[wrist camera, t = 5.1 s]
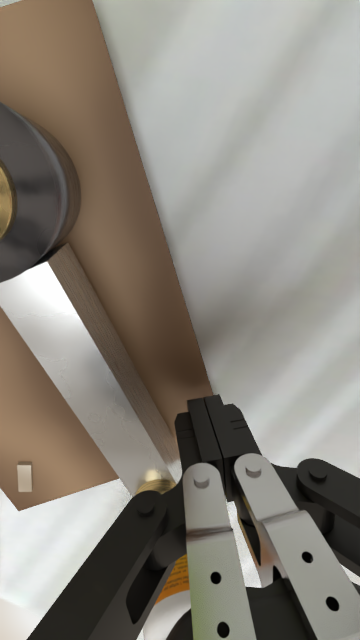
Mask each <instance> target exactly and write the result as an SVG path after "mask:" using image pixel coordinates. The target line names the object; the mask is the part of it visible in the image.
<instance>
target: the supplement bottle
mask: <svg viewBox="0 0 360 640" xmlns="http://www.w3.org/2000/svg"><path fill="white" fill-rule="evenodd" d="M190 608H191V600H190V586H189V573H188V560H187V554H185V555H184V556H182V557H181V558H179V559H178V560H176V563H175V566H174V568H173V570H172V572H171V574H170V576H169V578H168V580H167V582H166V583H165V585H164V587H163V589H162V591H161V593H160V595H159V597H158V599H157V601H156V603H155V605H154V607H153V608H152V610H151V612H150V614H149V616H148V618H147V620H146V622H145V624H144V626H143V633H144V640H166V638H167V636H168V635H169V633H170V631H171V629H172V628H173V626H174V625H175V624H176V622H177V621H178V620H179V619H180V618H181V617H182V615H183V614H184V613H185V612H187V611H188V610H189V609H190Z"/></svg>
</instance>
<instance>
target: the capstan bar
mask: <svg viewBox="0 0 360 640" xmlns="http://www.w3.org/2000/svg"><path fill="white" fill-rule="evenodd" d="M80 206H81V188H80V181H79V178H78V174H77V171H76V169H75V166H74V164H73V162H72V160H71V158H70V156H69V154H68V153H67V152H66V150H65V149H64V147H63V146H62V145H61V144H60V143H59V141H58V140H57V139H56V138H55V137H54V136H53V135H52V134H50V133H49V132H48V131H47V130H46V129H44V128H43V127H41V126H40V125H39V124H37V123H35V122H33V121H32V120H30V119H28V118H27V117H25V116H23V115H22V114H20V113H18V112H17V111H15V110H13V109H12V108H10V107H8V106H7V105H5V104H3V103H2V102H0V306H1V308H2V309H3V311H4V312H5V313H6V315H7V316H8V318H9V319H10V321H11V322H12V324H13V325H14V326H15V328H16V329H17V331H18V332H19V334H20V335H21V337H22V338H23V339H24V341H25V342H26V344H27V345H28V347H29V348H30V350H31V351H32V352H33V354H34V355H35V357H36V358H37V360H38V361H39V362H40V364H41V365H42V367H43V368H44V370H45V371H46V373H47V374H48V375H49V377H50V378H51V380H52V381H53V383H54V384H55V386H56V387H57V388H58V390H59V391H60V393H61V394H62V396H63V397H64V399H65V400H66V401H67V403H68V404H69V406H70V407H71V409H72V410H73V412H74V413H75V414H76V416H77V417H78V419H79V420H80V422H81V423H82V425H83V426H84V427H85V429H86V430H87V432H88V433H89V435H90V436H91V438H92V439H93V440H94V442H95V443H96V445H97V446H98V448H99V449H100V451H101V452H102V453H103V455H104V456H105V458H106V459H107V461H108V462H109V464H110V465H111V466H112V468H113V469H114V471H115V472H116V474H117V475H118V477H119V478H120V479H121V481H122V482H123V484H124V485H125V487H126V488H127V490H128V491H129V492H130V494H131V495H132V497H134V496H135V495H136V494H138V493H140V492H142V491H146V490H154V491H157V492H159V493H161V494H163V493H165V492H167V491H169V490H170V489H172V488H173V487H174V486H176V484H177V483H178V482H179V480H180V478H181V476H182V470H181V464H180V458H179V452H178V445H177V443H176V442H175V440H174V438H173V436H172V434H171V432H170V431H169V429H168V427H167V425H166V423H165V421H164V419H163V418H162V416H161V414H160V412H159V410H158V408H157V406H156V405H155V403H154V401H153V399H152V397H151V395H150V393H149V392H148V390H147V388H146V386H145V384H144V382H143V380H142V379H141V377H140V375H139V373H138V371H137V369H136V368H135V366H134V364H133V362H132V360H131V358H130V356H129V355H128V353H127V351H126V349H125V347H124V345H123V343H122V342H121V340H120V338H119V336H118V334H117V332H116V330H115V329H114V327H113V325H112V323H111V321H110V319H109V317H108V316H107V314H106V312H105V310H104V308H103V306H102V304H101V303H100V301H99V299H98V297H97V295H96V293H95V292H94V290H93V288H92V286H91V284H90V282H89V280H88V279H87V277H86V275H85V273H84V271H83V269H82V267H81V266H80V264H79V262H78V260H77V258H76V256H75V254H74V253H73V251H72V249H71V247H70V245H69V243H68V242H67V243H65V244H63V245H60V246H58V247H56V248H54V247H55V246H57V245H58V244H59V243H60V242H61V241H62V240H63V239H65V238H66V237H67V235H68V234H69V233H70V232H71V230H72V229H73V227H74V225H75V223H76V221H77V218H78V215H79V211H80Z"/></svg>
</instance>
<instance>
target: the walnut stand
mask: <svg viewBox="0 0 360 640" xmlns="http://www.w3.org/2000/svg"><path fill="white" fill-rule="evenodd" d="M0 102H2V103H3V104H5V105H7V106H8V107H10V108H12V109H13V110H15V111H17V112H18V113H20V114H22V115H23V116H25V117H27V118H28V119H30V120H32V121H33V122H35V123H37V124H39V125H40V126H41V127H43V128H44V129H46V130H47V131H48V132H49V133H50V134H52V135H53V136H54V137H55V138H56V139H57V140H58V141H59V143H60V144H61V145H62V146H63V147H64V149H65V150H66V152H67V153H68V154H69V156H70V158H71V160H72V162H73V164H74V166H75V169H76V171H77V174H78V178H79V181H80V188H81V206H80V211H79V215H78V218H77V221H76V223H75V225H74V227H73V229H72V230H71V232H70V233H69V234H68V235H67V237H66V238H65V239H63V240H62V241H61V242H60V243H59V244H58V245H57V246H55V247H54V248H56V247H58V246H60V245H63V244H65V243H67V242H68V243H69V245H70V247H71V249H72V251H73V253H74V254H75V256H76V258H77V260H78V262H79V264H80V266H81V267H82V269H83V271H84V273H85V275H86V277H87V279H88V280H89V282H90V284H91V286H92V288H93V290H94V292H95V293H96V295H97V297H98V299H99V301H100V303H101V304H102V306H103V308H104V310H105V312H106V314H107V316H108V317H109V319H110V321H111V323H112V325H113V327H114V329H115V330H116V332H117V334H118V336H119V338H120V340H121V342H122V343H123V345H124V347H125V349H126V351H127V353H128V355H129V356H130V358H131V360H132V362H133V364H134V366H135V368H136V369H137V371H138V373H139V375H140V377H141V379H142V380H143V382H144V384H145V386H146V388H147V390H148V392H149V393H150V395H151V397H152V399H153V401H154V403H155V405H156V406H157V408H158V410H159V412H160V414H161V416H162V418H163V419H164V421H165V423H166V425H167V427H168V429H169V431H170V432H171V434H172V436H173V438H174V440H175V442H176V443H177V437H176V431H175V424H174V422H175V419H176V416H177V414H179V413H184V412H188V408H187V400H191V399H196V398H203V397H207V396H213V392H212V389H211V386H210V382H209V379H208V376H207V373H206V369H205V366H204V363H203V359H202V356H201V353H200V350H199V346H198V343H197V340H196V337H195V333H194V330H193V327H192V324H191V320H190V317H189V314H188V311H187V307H186V304H185V301H184V298H183V294H182V291H181V288H180V285H179V281H178V278H177V275H176V272H175V268H174V265H173V262H172V258H171V255H170V252H169V249H168V245H167V242H166V239H165V236H164V232H163V229H162V226H161V223H160V219H159V216H158V213H157V210H156V206H155V203H154V200H153V197H152V193H151V190H150V187H149V184H148V180H147V177H146V174H145V171H144V167H143V164H142V161H141V157H140V154H139V151H138V148H137V144H136V141H135V138H134V135H133V131H132V128H131V125H130V122H129V118H128V115H127V112H126V109H125V105H124V102H123V99H122V96H121V92H120V89H119V86H118V83H117V79H116V76H115V73H114V70H113V66H112V63H111V60H110V57H109V53H108V50H107V47H106V43H105V40H104V37H103V34H102V30H101V27H100V24H99V21H98V17H97V14H96V11H95V8H94V4H93V1H92V0H22V1H19V2H16V3H13V4H9V5H6V6H3V7H0ZM177 445H178V444H177ZM178 452H179V450H178ZM179 458H180V456H179ZM116 479H119V477H118V475H117V474H116V472H115V471H114V469H113V468H112V466H111V465H110V464H109V462H108V461H107V459H106V458H105V456H104V455H103V453H102V452H101V451H100V449H99V448H98V446H97V445H96V443H95V442H94V440H93V439H92V438H91V436H90V435H89V433H88V432H87V430H86V429H85V427H84V426H83V425H82V423H81V422H80V420H79V419H78V417H77V416H76V414H75V413H74V412H73V410H72V409H71V407H70V406H69V404H68V403H67V401H66V400H65V399H64V397H63V396H62V394H61V393H60V391H59V390H58V388H57V387H56V386H55V384H54V383H53V381H52V380H51V378H50V377H49V375H48V374H47V373H46V371H45V370H44V368H43V367H42V365H41V364H40V362H39V361H38V360H37V358H36V357H35V355H34V354H33V352H32V351H31V350H30V348H29V347H28V345H27V344H26V342H25V341H24V339H23V338H22V337H21V335H20V334H19V332H18V331H17V329H16V328H15V326H14V325H13V324H12V322H11V321H10V319H9V318H8V316H7V315H6V313H5V312H4V311H3V309H2V308H1V306H0V488H1V489H2V491H3V492H4V493H5V494H6V496H7V497H8V498H9V499H10V501H11V502H12V503H13V505H14V506H15V507H16V508H17V510H18V511H21V510H24V509H27V508H30V507H33V506H36V505H39V504H42V503H45V502H48V501H51V500H54V499H58V498H61V497H64V496H67V495H70V494H73V493H76V492H79V491H82V490H85V489H88V488H91V487H94V486H97V485H101V484H104V483H107V482H110V481H113V480H116Z"/></svg>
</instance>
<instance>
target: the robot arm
mask: <svg viewBox="0 0 360 640" xmlns="http://www.w3.org/2000/svg"><path fill="white" fill-rule="evenodd" d="M187 408H188V412H184V413H179V414H177V416H176V419H175V422H174V424H175V431H176V437H177V444H178V450H179V456H180V462H181V468H182V476H181V478H180V480H179V482H178V483H177V484H176V486H174V487H173V488H172V489H170V490H169V491H167V492H165V493H163V494H161V493H159V492H157V491H154V490H146V491H142V492H140V493H138V494H136V495H135V496H134V497H133V498H132V499H131V500H130V501H129V503H128V504H127V505H126V507H125V508H124V509H123V511H122V512H121V513H120V515H119V516H118V518H117V519H116V520H115V522H114V523H113V524H112V526H111V527H110V528H109V530H108V531H107V532H106V534H105V535H104V536H103V538H102V539H101V540H100V542H99V543H98V544H97V546H96V547H95V548H94V550H93V551H92V552H91V554H90V555H89V557H88V558H87V559H86V561H85V562H84V563H83V565H82V566H81V567H80V569H79V570H78V571H77V573H76V574H75V575H74V577H73V578H72V579H71V581H70V582H69V583H68V585H67V586H66V587H65V589H64V590H63V592H62V593H61V594H60V596H59V597H58V598H57V600H56V601H55V602H54V604H53V605H52V606H51V608H50V609H49V610H48V612H47V613H46V614H45V616H44V617H43V618H42V620H41V621H40V623H39V624H38V625H37V627H36V628H35V630H34V631H33V632H32V633H31V635H30V636H29V637H28V639H27V640H136V639H137V637H138V635H139V633H140V632H141V630H142V628H143V626H144V624H145V622H146V620H147V618H148V616H149V614H150V612H151V610H152V608H153V607H154V605H155V603H156V601H157V599H158V597H159V595H160V593H161V591H162V589H163V587H164V585H165V583H166V582H167V580H168V578H169V576H170V574H171V572H172V570H173V568H174V566H175V563H176V560H178V559H179V558H181V557H182V556H184V555H185V554H187V560H188V573H189V586H190V600H191V608H190V609H189V610H188V611H187V612H185V613H184V614H183V615H182V617H181V618H180V619H179V620H178V621H177V622H176V624H175V625H174V626H173V628H172V629H171V631H170V633H169V635H168V636H167V638H166V640H360V586H359V585H357V584H355V583H353V582H351V581H350V579H349V578H348V576H347V574H346V573H345V571H344V569H343V568H342V566H341V565H343V566H344V567H346V568H347V569H349V570H350V571H352V572H353V573H354V574H356V575H357V576H359V577H360V478H358V477H355V476H353V475H351V474H349V473H347V472H345V471H343V470H341V469H339V468H337V467H335V466H333V465H331V464H329V463H327V462H325V461H323V460H320V459H314V458H311V459H306V460H303V461H302V462H300V463H299V465H298V467H297V468H289V467H281V466H277V465H274V464H272V463H270V461H269V460H268V459H266V458H265V457H263V456H262V454H261V452H260V450H259V448H258V446H257V444H256V442H255V440H254V438H253V435H252V433H251V431H250V429H249V428H248V425H247V423H246V421H245V418H244V416H243V414H242V412H241V410H240V409H239V408H237V407H236V406H235V405H234V404H228V405H223V402H222V400H221V397H220V395H219V394H218V395H213V396H207V397H203V398H196V399H191V400H187ZM225 496H226V499H227V502H231V501H234V502H235V506H236V509H237V518H238V523H239V525H240V528H241V530H242V533H243V535H244V538H245V540H246V543H247V546H248V548H249V551H250V553H251V556H252V558H253V561H254V563H255V566H256V569H257V571H258V574H259V578H260V581H261V586H262V588H254V587H245V583H244V578H243V574H242V569H241V564H240V559H239V555H238V550H237V545H236V540H235V536H234V532H233V529H232V528H231V524H230V520H229V515H228V510H227V505H226V499H225ZM340 564H341V565H340Z"/></svg>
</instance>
